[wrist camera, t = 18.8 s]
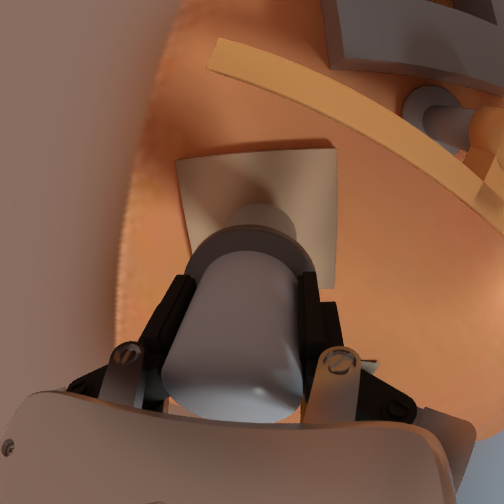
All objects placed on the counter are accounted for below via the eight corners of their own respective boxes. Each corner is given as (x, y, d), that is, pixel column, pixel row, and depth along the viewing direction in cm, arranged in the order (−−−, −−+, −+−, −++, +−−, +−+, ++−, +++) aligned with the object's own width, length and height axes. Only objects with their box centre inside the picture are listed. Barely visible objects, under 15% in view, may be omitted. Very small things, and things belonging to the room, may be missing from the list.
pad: (334, 147, 17) (336, 148, 16) (333, 283, 21) (334, 288, 21) (178, 159, 18) (174, 161, 17) (203, 287, 23) (201, 291, 22)
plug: (307, 186, 16) (337, 320, 6) (310, 277, 19) (322, 434, 9) (204, 195, 17) (107, 319, 7) (220, 281, 20) (171, 426, 10)
